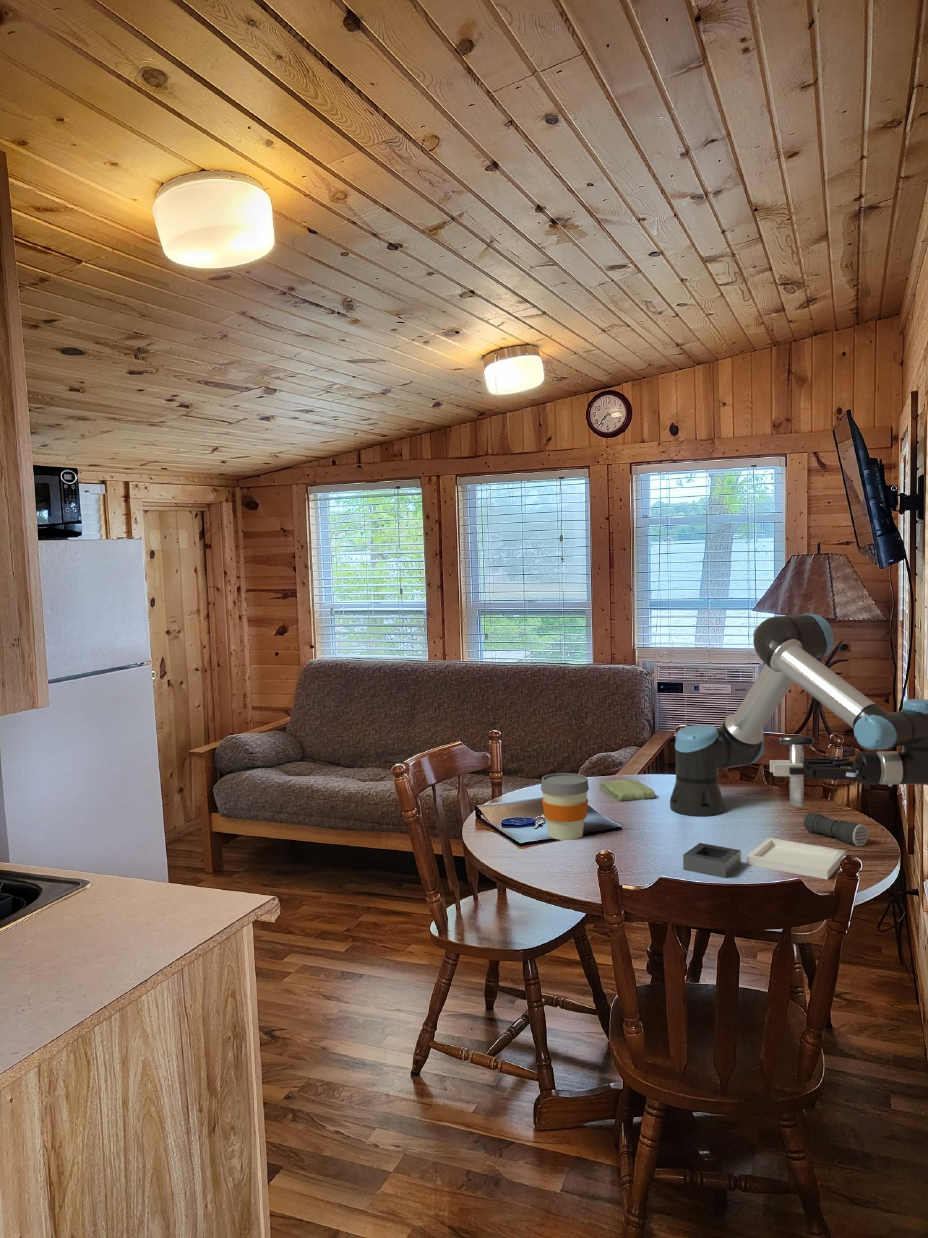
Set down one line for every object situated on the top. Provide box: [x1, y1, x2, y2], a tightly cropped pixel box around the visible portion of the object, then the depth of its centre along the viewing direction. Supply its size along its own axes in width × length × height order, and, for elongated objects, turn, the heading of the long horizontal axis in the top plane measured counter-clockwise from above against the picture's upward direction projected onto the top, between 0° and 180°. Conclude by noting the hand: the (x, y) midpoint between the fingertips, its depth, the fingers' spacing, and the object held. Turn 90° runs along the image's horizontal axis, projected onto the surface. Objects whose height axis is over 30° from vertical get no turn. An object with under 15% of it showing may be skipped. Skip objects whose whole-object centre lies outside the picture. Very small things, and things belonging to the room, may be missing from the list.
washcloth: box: [599, 779, 656, 802], centre depth 269 cm, size 13×18×3 cm
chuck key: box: [777, 736, 816, 807], centre depth 204 cm, size 8×3×16 cm, turn 83°
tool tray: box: [746, 837, 847, 880], centre depth 205 cm, size 18×16×2 cm
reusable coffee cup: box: [540, 772, 589, 841], centre depth 230 cm, size 13×13×15 cm
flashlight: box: [803, 811, 869, 847], centre depth 221 cm, size 15×5×5 cm, turn 31°
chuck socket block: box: [682, 842, 742, 879], centre depth 203 cm, size 10×10×4 cm
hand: (772, 768), depth 204 cm, fingers closed on chuck key, 3 cm apart
